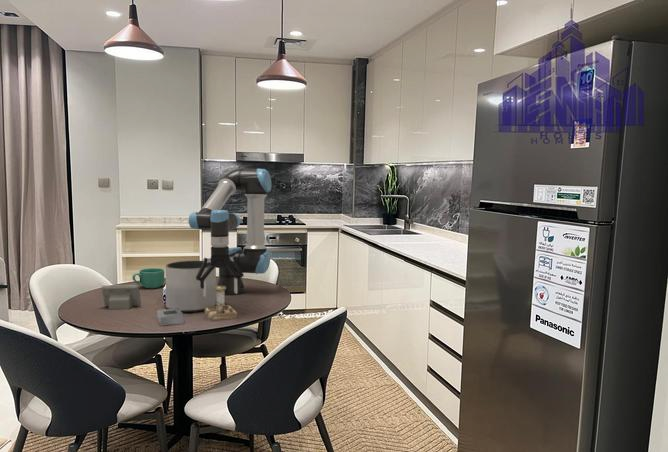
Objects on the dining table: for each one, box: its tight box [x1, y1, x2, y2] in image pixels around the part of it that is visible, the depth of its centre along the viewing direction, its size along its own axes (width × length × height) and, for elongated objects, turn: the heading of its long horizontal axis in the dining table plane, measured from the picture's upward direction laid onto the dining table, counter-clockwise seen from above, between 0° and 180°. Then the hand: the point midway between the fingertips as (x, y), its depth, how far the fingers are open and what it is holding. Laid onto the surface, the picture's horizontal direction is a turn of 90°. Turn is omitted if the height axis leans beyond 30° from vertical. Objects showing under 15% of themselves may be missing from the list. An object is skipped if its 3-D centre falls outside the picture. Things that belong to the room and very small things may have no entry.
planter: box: [165, 260, 217, 313], centre depth 224 cm, size 23×23×20 cm
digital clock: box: [101, 284, 142, 310], centre depth 222 cm, size 16×9×11 cm, turn 86°
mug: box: [132, 267, 165, 290], centre depth 263 cm, size 17×12×10 cm
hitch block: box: [156, 308, 185, 327], centre depth 202 cm, size 12×9×4 cm
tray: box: [204, 304, 238, 322], centre depth 211 cm, size 14×11×2 cm
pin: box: [214, 285, 226, 314], centre depth 211 cm, size 5×5×12 cm
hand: (220, 294), depth 211 cm, fingers open, 13 cm apart
